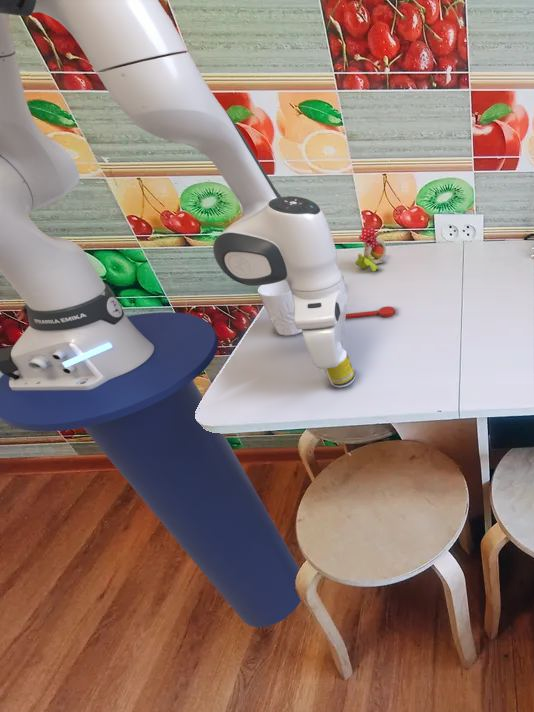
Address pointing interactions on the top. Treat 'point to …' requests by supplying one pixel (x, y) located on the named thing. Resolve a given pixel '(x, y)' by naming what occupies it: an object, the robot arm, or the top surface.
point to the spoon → (373, 313)
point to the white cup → (279, 306)
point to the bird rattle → (371, 249)
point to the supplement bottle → (341, 370)
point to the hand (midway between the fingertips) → (339, 358)
